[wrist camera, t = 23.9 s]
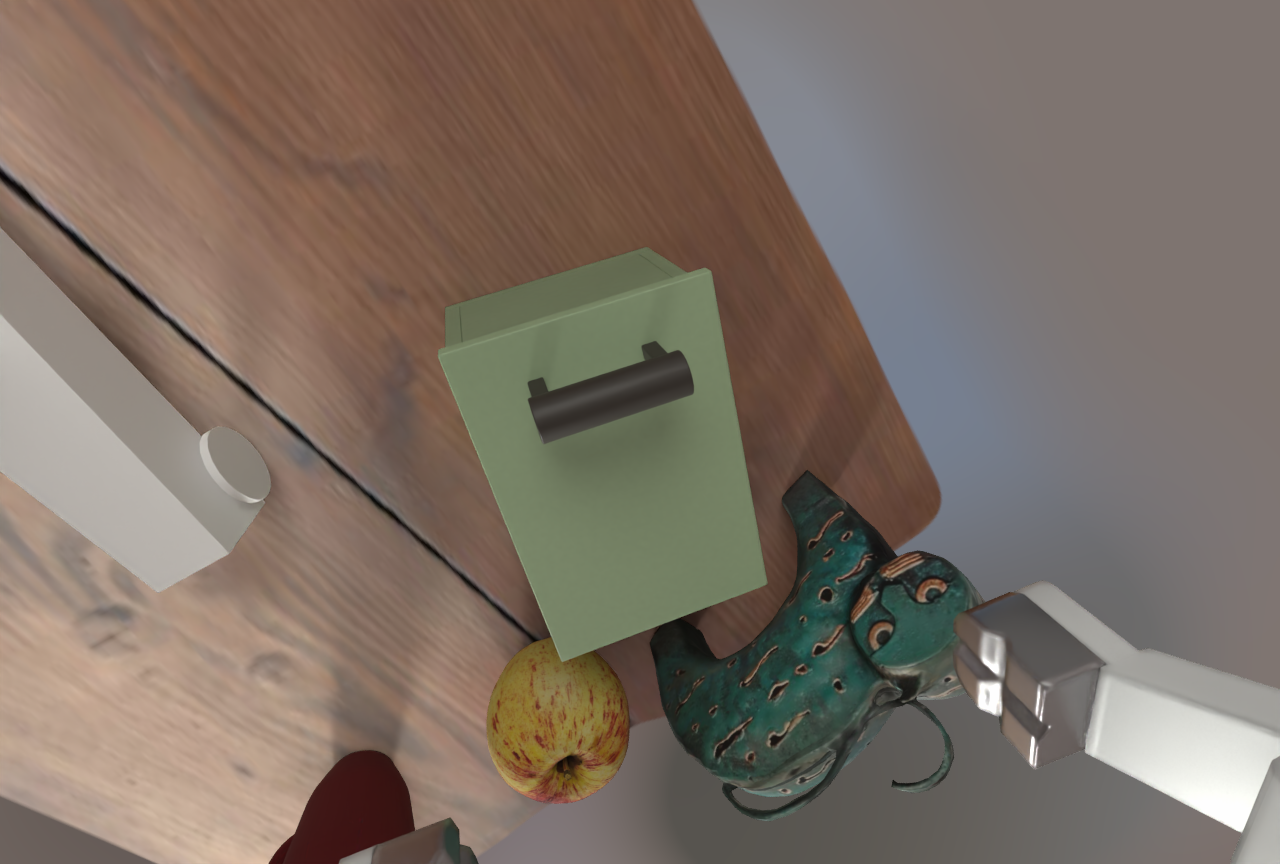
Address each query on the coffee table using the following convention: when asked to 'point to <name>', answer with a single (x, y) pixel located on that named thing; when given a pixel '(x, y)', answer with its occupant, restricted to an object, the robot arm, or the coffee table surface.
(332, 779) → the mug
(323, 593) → the coffee table surface
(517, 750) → the apple
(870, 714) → the ceramic cat
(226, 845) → the coffee table surface
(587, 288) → the chest
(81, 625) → the coffee table surface
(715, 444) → the lid
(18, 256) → the white elongated piece
